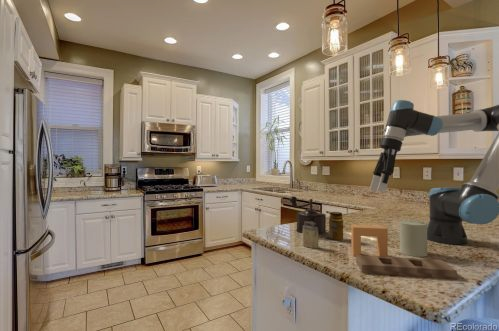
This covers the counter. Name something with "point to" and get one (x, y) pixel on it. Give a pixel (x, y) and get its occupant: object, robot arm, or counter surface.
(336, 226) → the condiment
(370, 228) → the orange block
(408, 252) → the can
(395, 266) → the rail
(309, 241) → the lighter
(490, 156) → the robot arm
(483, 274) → the counter surface
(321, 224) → the manual coffee grinder
